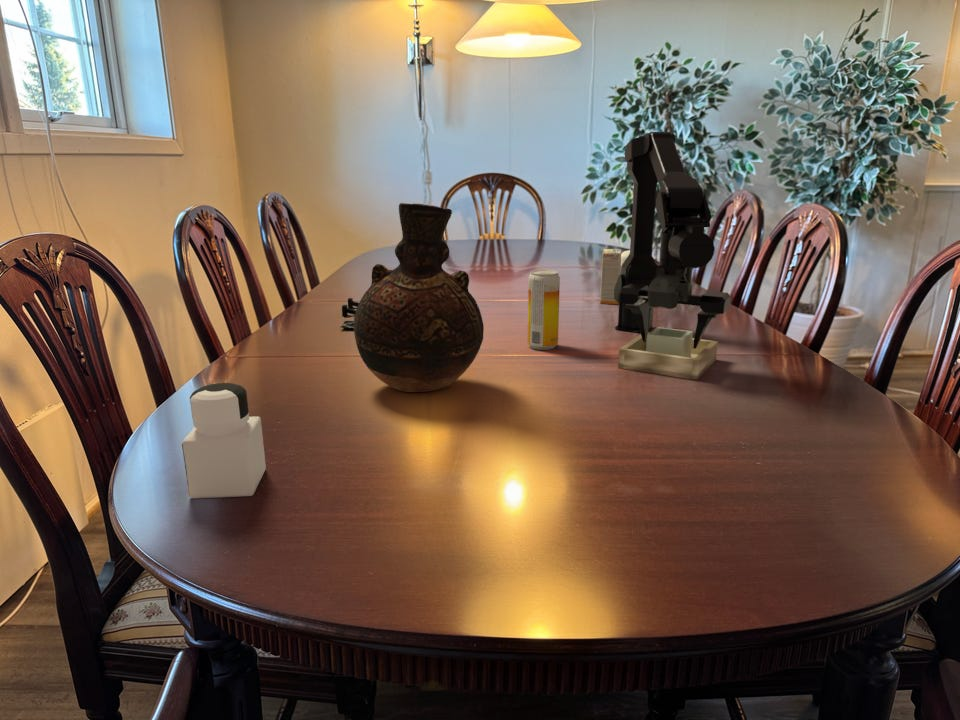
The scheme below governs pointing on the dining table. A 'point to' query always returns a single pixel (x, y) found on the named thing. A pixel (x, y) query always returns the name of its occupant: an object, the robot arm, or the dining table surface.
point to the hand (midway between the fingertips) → (669, 344)
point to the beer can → (543, 309)
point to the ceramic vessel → (419, 310)
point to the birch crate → (668, 359)
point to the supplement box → (609, 274)
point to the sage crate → (670, 342)
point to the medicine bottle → (223, 444)
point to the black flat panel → (349, 310)
